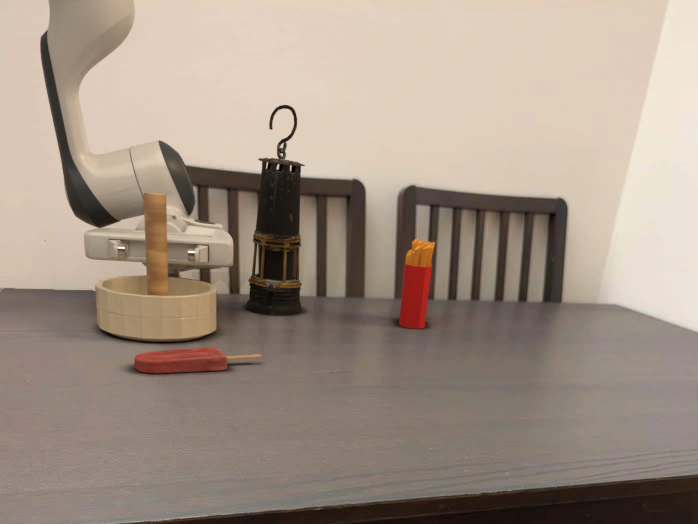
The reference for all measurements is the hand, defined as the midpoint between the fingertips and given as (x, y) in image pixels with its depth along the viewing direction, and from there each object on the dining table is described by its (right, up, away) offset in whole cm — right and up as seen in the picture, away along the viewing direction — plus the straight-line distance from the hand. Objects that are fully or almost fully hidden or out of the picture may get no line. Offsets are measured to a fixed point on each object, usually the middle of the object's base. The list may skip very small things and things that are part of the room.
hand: (156, 255), depth 96 cm
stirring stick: (-1, -9, +4) cm, 9 cm away
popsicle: (+8, -17, -11) cm, 21 cm away
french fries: (+35, -5, +21) cm, 41 cm away
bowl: (-1, -9, +4) cm, 10 cm away
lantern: (+13, -2, +23) cm, 26 cm away
